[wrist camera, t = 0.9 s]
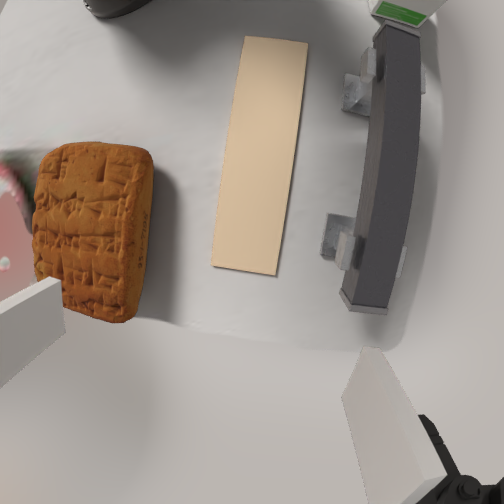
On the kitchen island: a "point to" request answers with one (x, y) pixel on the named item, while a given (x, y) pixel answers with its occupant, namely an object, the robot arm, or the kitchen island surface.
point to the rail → (386, 170)
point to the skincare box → (405, 10)
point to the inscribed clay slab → (94, 226)
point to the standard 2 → (364, 85)
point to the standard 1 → (344, 241)
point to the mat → (259, 155)
